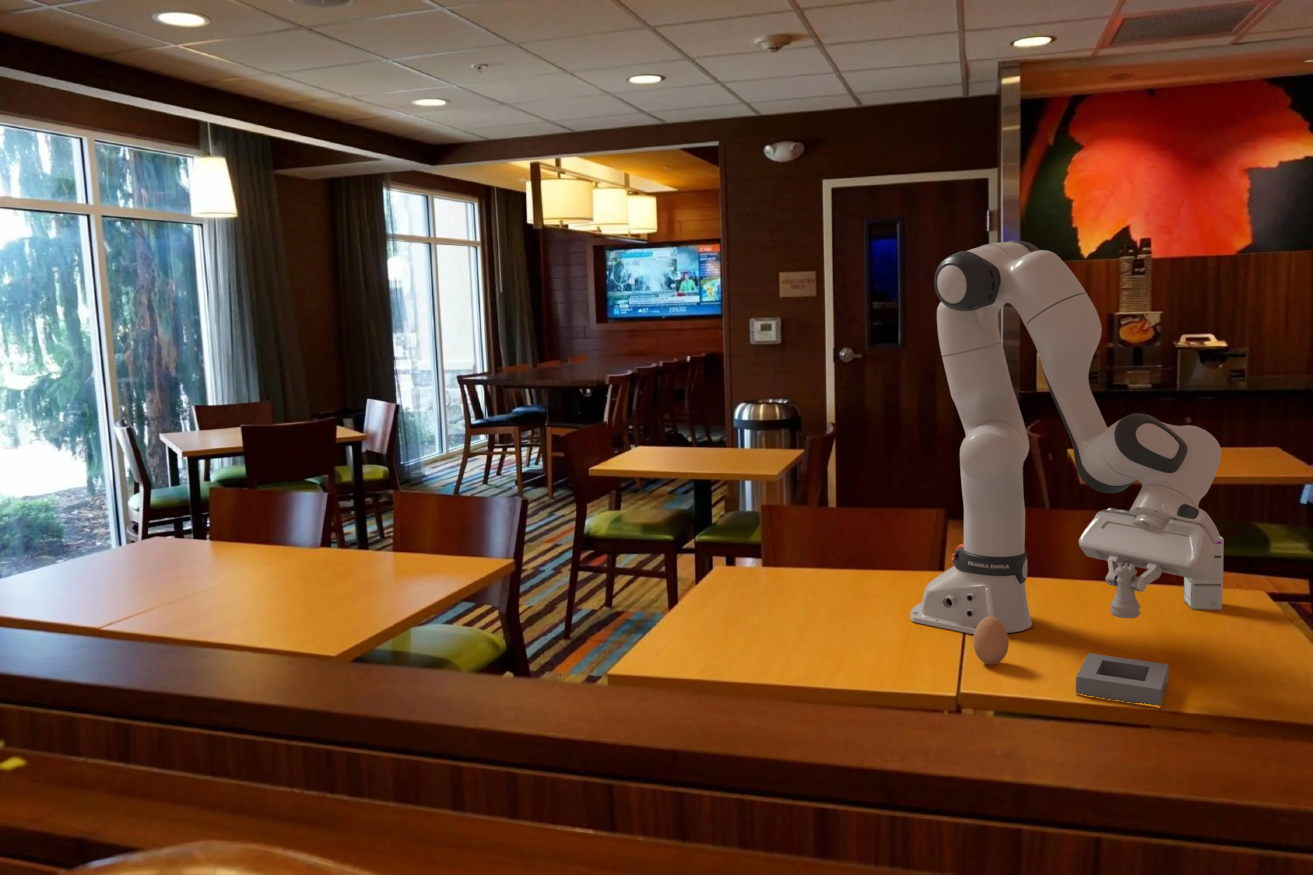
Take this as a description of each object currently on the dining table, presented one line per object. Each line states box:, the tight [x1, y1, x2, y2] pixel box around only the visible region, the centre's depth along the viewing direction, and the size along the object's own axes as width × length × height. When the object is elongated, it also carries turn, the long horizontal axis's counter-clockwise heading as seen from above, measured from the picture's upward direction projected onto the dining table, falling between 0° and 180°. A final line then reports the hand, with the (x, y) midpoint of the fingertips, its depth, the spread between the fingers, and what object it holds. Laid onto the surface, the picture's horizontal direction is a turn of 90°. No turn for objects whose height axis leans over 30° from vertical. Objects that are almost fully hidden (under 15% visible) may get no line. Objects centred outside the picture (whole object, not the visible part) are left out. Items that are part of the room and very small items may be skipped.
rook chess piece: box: [1109, 563, 1141, 619], centre depth 163 cm, size 4×4×8 cm
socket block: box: [1075, 652, 1169, 707], centre depth 165 cm, size 12×12×3 cm
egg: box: [972, 617, 1009, 666], centre depth 177 cm, size 6×6×8 cm
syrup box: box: [1183, 535, 1225, 611], centre depth 205 cm, size 6×6×14 cm
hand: (1123, 586), depth 162 cm, fingers closed on rook chess piece, 3 cm apart
